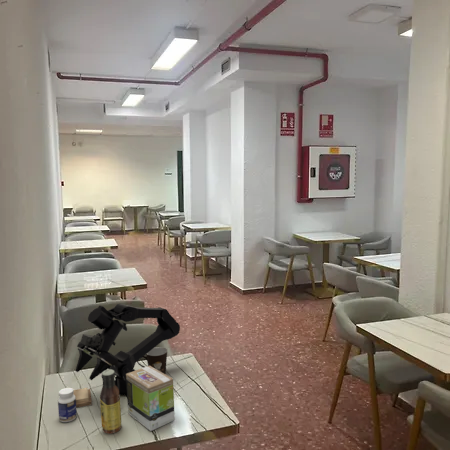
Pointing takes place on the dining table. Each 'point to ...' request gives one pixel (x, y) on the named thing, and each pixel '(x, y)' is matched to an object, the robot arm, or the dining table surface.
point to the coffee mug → (157, 359)
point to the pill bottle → (67, 405)
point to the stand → (83, 397)
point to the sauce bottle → (110, 403)
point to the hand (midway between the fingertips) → (83, 375)
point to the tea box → (150, 397)
